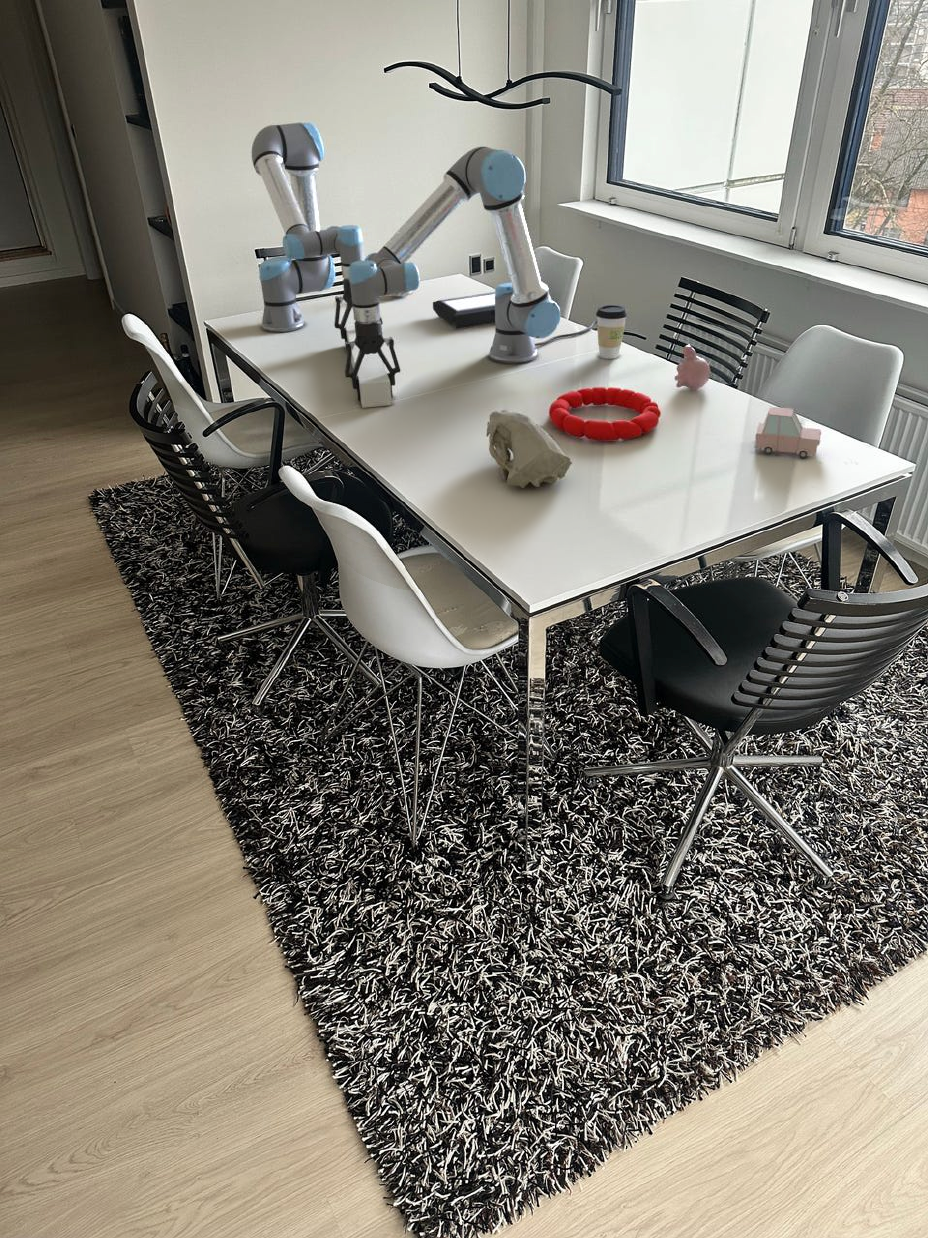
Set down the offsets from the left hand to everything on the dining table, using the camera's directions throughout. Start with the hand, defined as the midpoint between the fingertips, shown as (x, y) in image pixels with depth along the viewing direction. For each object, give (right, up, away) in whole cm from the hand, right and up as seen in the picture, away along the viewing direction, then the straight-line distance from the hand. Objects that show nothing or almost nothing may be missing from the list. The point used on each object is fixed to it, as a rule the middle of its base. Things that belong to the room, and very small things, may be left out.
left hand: (360, 346), depth 302 cm
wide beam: (+4, -14, -19) cm, 24 cm away
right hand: (+9, -27, -39) cm, 49 cm away
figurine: (+102, -24, -39) cm, 112 cm away
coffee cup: (+82, -7, -13) cm, 83 cm away
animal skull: (+49, -56, -82) cm, 110 cm away
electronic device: (+42, +19, +27) cm, 53 cm away
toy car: (+116, -50, -77) cm, 148 cm away
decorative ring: (+73, -38, -58) cm, 101 cm away
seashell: (+10, +37, +54) cm, 66 cm away
